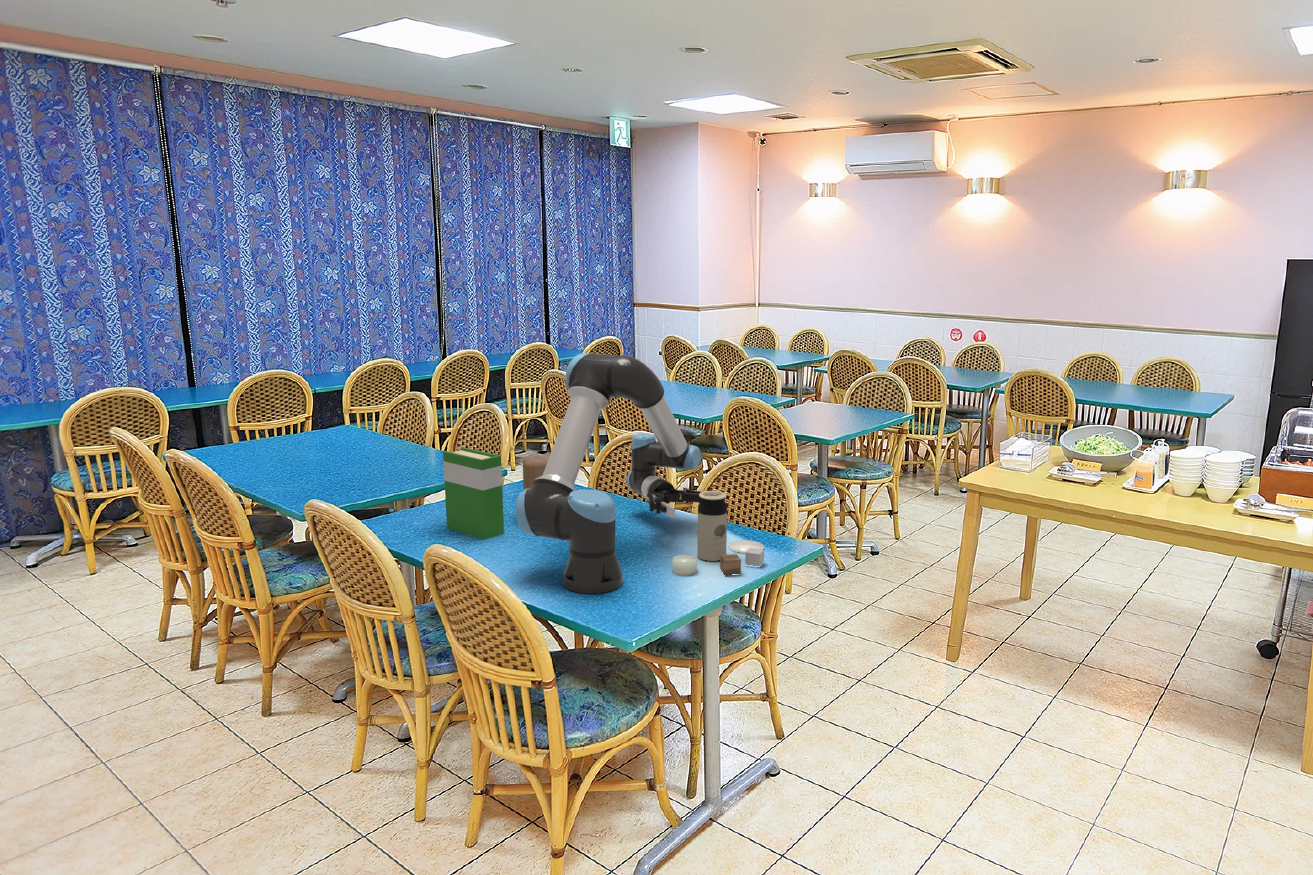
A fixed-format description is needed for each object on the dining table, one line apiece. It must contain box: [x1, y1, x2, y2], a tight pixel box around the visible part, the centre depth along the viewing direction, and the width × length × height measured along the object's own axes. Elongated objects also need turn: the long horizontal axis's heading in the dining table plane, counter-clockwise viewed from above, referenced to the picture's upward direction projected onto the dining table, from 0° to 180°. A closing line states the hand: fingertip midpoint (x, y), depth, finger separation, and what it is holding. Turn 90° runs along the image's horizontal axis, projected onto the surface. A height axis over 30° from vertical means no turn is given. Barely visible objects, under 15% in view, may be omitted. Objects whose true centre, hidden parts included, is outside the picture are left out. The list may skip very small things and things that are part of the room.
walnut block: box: [719, 553, 742, 576], centre depth 227 cm, size 4×4×4 cm
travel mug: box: [696, 490, 728, 562], centre depth 237 cm, size 8×8×18 cm
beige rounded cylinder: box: [672, 554, 698, 577], centre depth 228 cm, size 6×6×4 cm
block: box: [522, 454, 550, 491], centre depth 269 cm, size 10×10×20 cm
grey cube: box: [744, 548, 765, 566], centre depth 232 cm, size 4×4×4 cm
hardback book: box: [442, 446, 505, 540], centre depth 258 cm, size 18×7×24 cm, turn 51°
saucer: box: [728, 539, 765, 554], centre depth 246 cm, size 10×10×1 cm
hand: (694, 509), depth 245 cm, fingers open, 13 cm apart
